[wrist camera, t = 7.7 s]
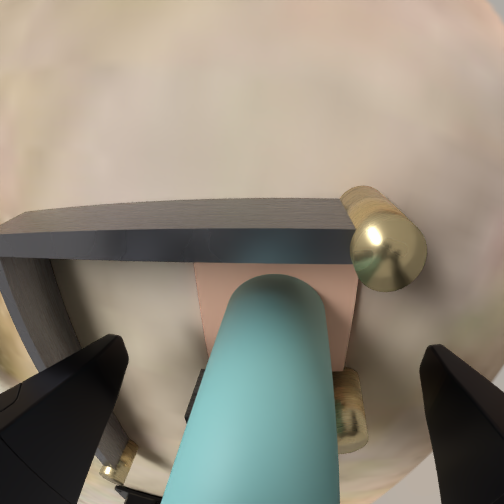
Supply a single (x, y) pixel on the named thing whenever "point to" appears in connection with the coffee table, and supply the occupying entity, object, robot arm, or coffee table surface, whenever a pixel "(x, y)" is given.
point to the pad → (316, 275)
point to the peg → (263, 405)
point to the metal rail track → (209, 251)
